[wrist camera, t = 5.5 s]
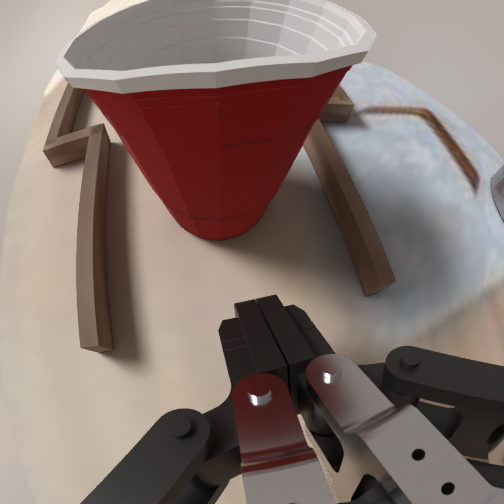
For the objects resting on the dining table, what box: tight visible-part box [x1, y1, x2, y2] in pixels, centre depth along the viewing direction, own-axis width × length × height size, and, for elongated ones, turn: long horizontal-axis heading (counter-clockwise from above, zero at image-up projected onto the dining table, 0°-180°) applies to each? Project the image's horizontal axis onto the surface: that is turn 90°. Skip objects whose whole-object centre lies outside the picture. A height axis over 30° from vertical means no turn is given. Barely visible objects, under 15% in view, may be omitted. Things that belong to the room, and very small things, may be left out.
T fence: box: [43, 83, 396, 352], centre depth 19 cm, size 24×30×2 cm
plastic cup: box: [54, 0, 377, 240], centre depth 12 cm, size 11×11×12 cm
